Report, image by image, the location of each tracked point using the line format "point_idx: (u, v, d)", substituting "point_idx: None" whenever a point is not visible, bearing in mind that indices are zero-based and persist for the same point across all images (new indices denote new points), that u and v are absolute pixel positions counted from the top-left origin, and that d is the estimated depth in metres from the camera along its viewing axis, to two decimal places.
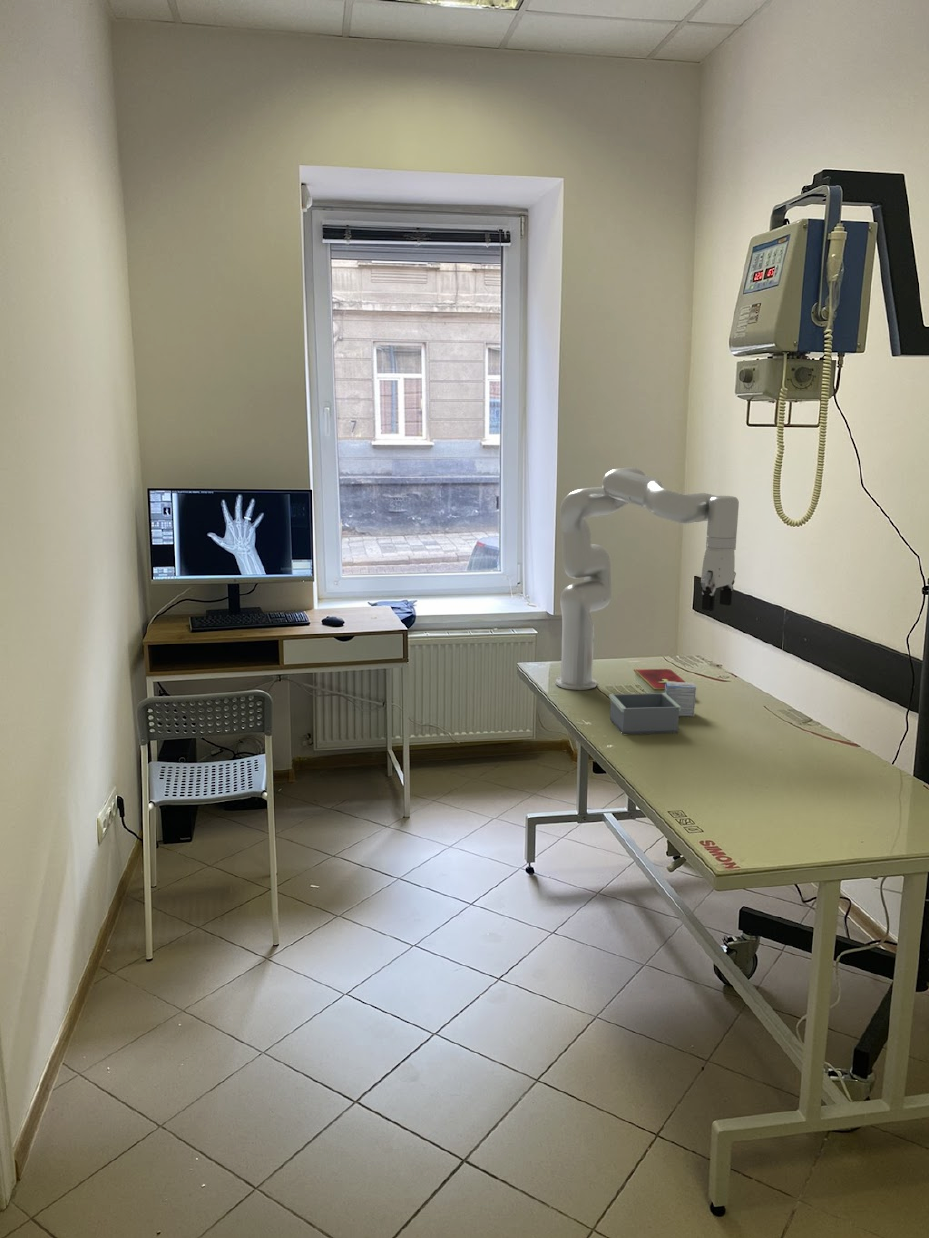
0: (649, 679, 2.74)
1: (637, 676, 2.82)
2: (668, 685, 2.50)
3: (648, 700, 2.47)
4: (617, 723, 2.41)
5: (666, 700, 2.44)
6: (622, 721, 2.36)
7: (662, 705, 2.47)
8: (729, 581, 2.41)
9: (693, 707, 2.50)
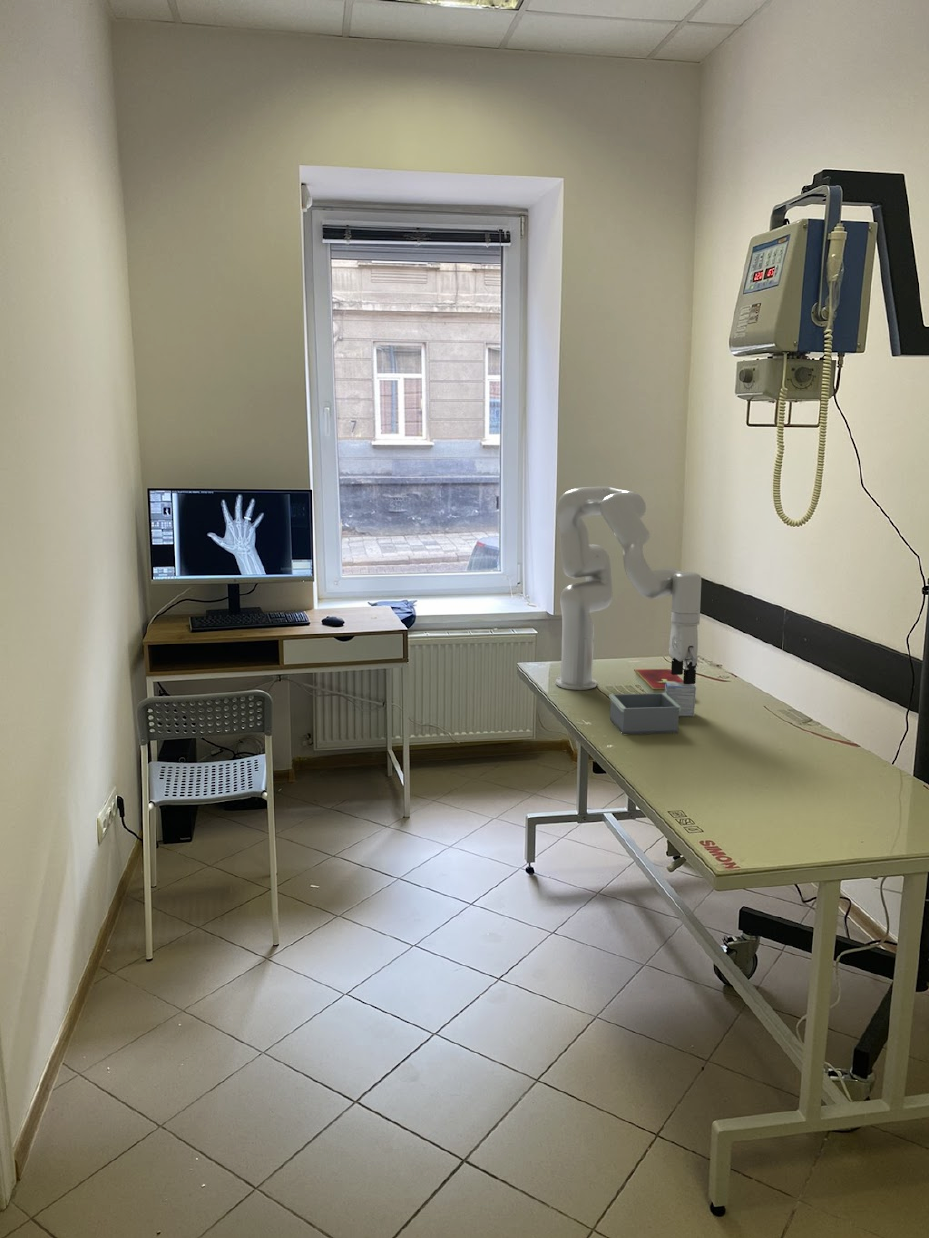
0: (648, 678, 2.74)
1: (637, 676, 2.82)
2: (668, 685, 2.50)
3: (648, 700, 2.47)
4: (617, 723, 2.41)
5: (666, 700, 2.44)
6: (622, 721, 2.36)
7: (662, 705, 2.47)
8: None
9: (693, 707, 2.50)
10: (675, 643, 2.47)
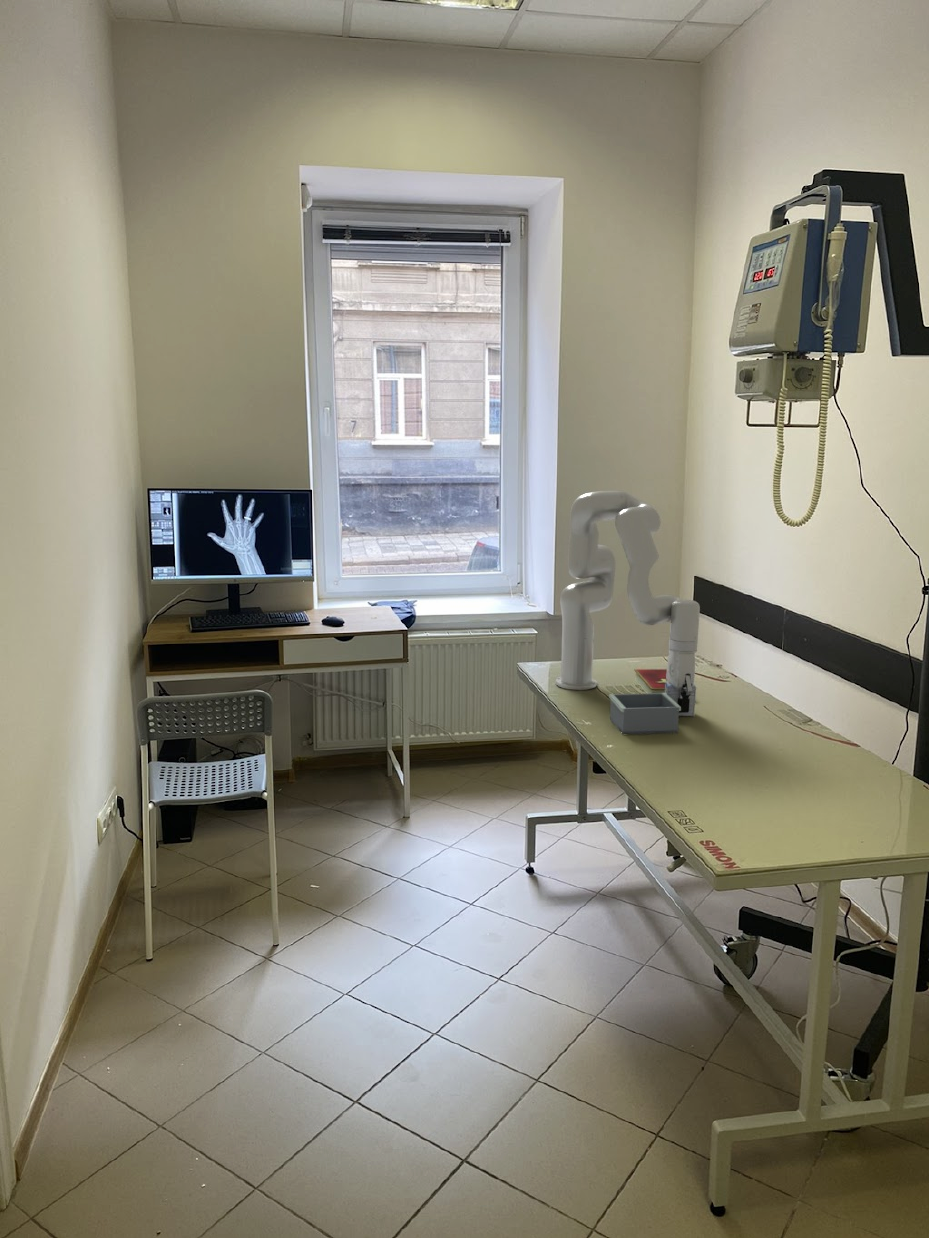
0: (648, 678, 2.74)
1: (637, 676, 2.82)
2: (668, 685, 2.50)
3: (648, 700, 2.47)
4: (617, 723, 2.41)
5: (666, 700, 2.44)
6: (622, 721, 2.36)
7: (662, 705, 2.47)
8: None
9: (693, 707, 2.50)
10: (672, 670, 2.49)
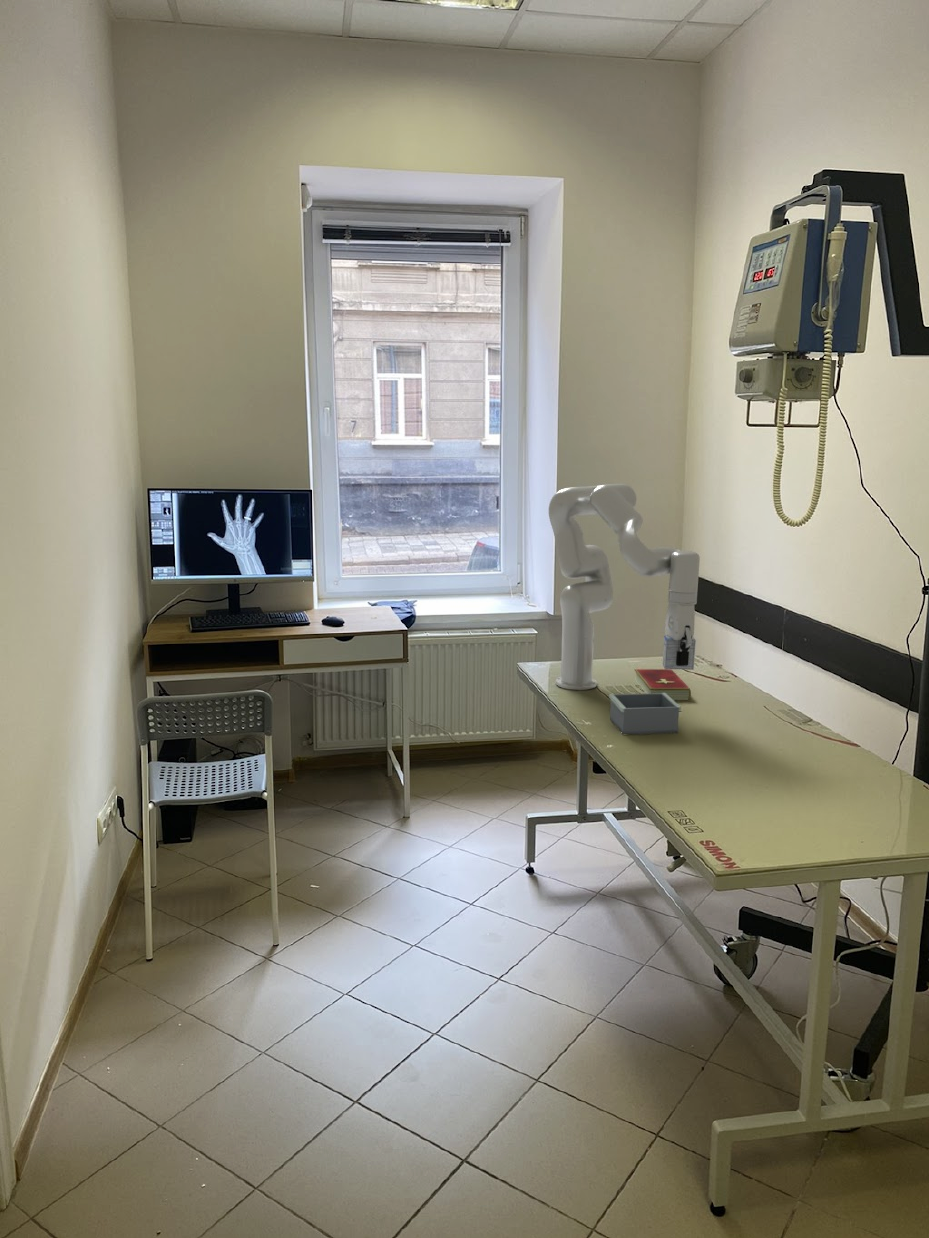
0: (648, 678, 2.75)
1: (638, 676, 2.82)
2: (667, 638, 2.46)
3: (648, 700, 2.47)
4: (617, 723, 2.41)
5: (666, 700, 2.44)
6: (622, 721, 2.36)
7: (662, 705, 2.47)
8: None
9: (693, 660, 2.46)
10: (671, 622, 2.45)
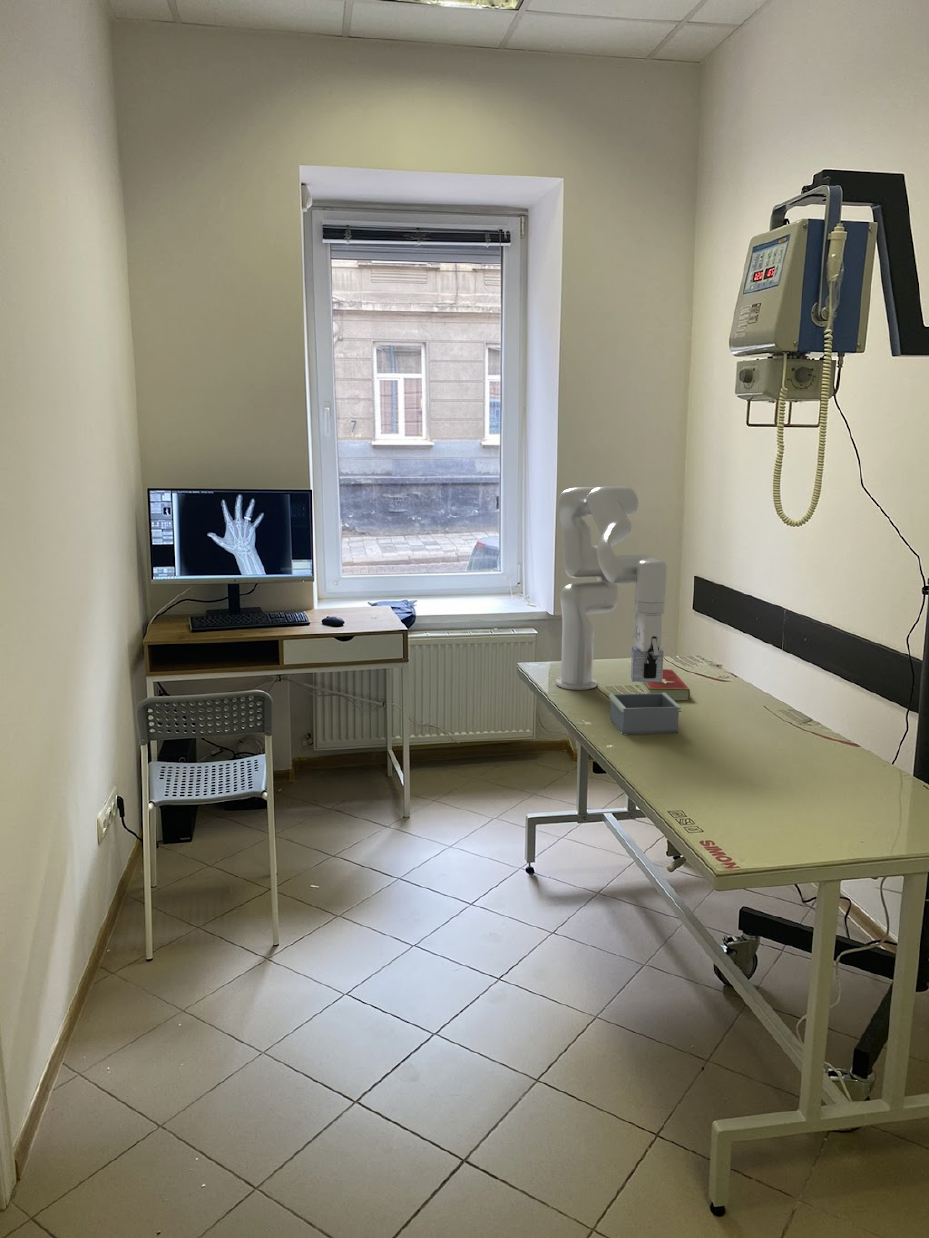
0: None
1: None
2: (634, 649, 2.37)
3: (648, 700, 2.47)
4: (617, 723, 2.41)
5: (666, 700, 2.44)
6: (622, 721, 2.36)
7: (662, 705, 2.47)
8: None
9: (661, 672, 2.37)
10: (638, 633, 2.36)
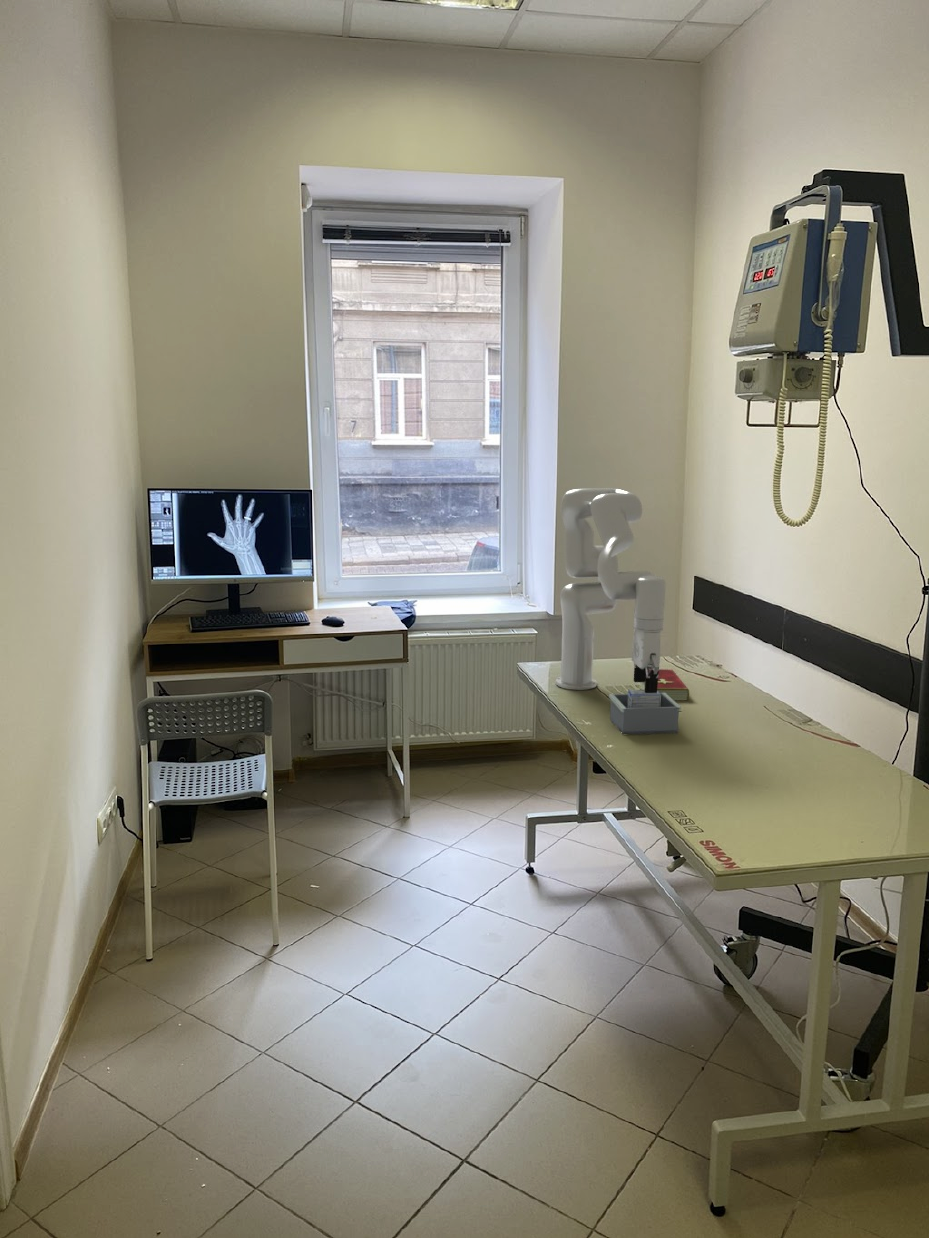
0: None
1: None
2: (632, 693, 2.40)
3: None
4: (617, 723, 2.41)
5: (666, 700, 2.44)
6: (622, 721, 2.36)
7: (662, 705, 2.47)
8: None
9: None
10: (637, 650, 2.37)
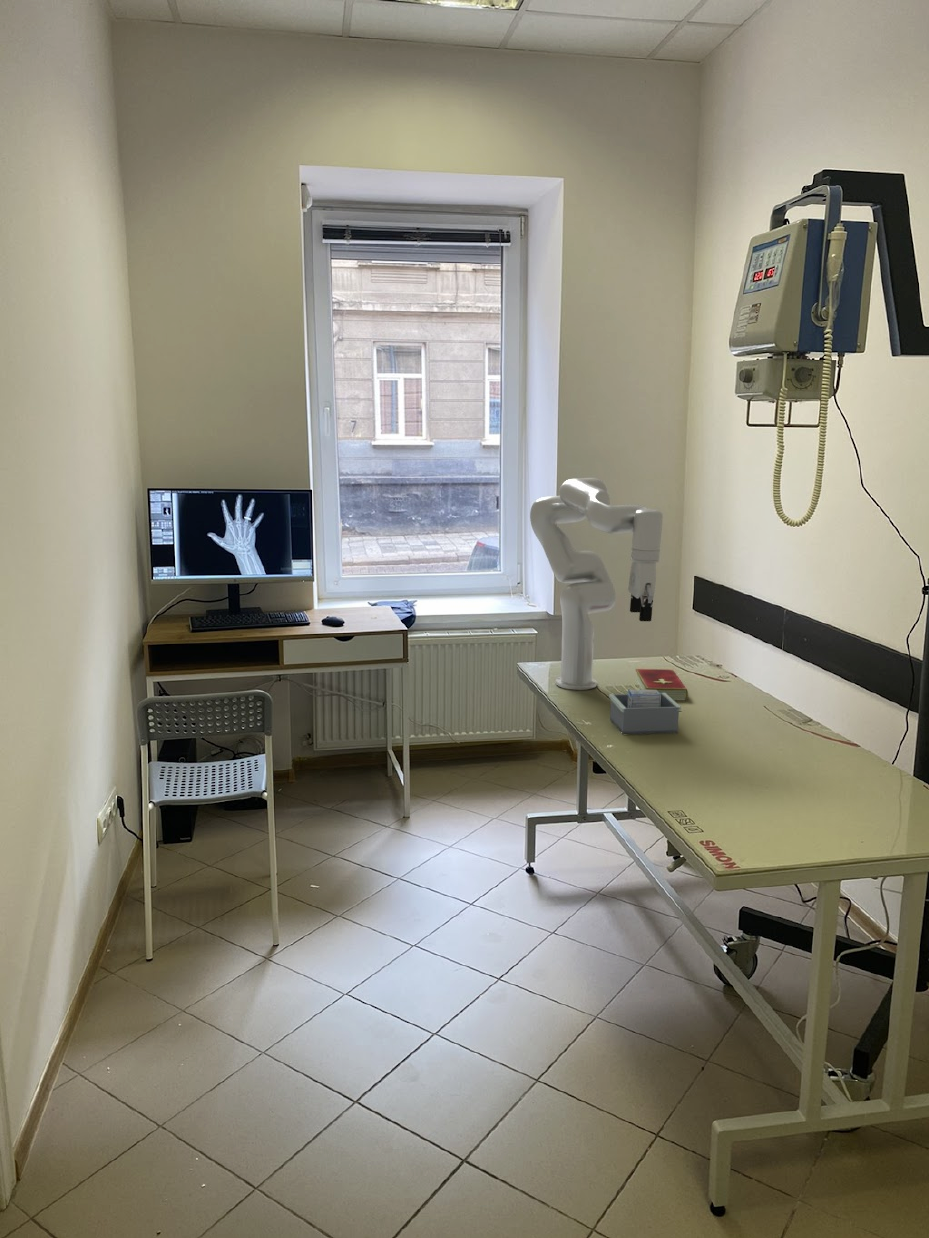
0: (646, 678, 2.75)
1: (638, 675, 2.82)
2: (632, 693, 2.40)
3: None
4: (617, 723, 2.41)
5: (666, 700, 2.44)
6: (622, 721, 2.36)
7: (662, 705, 2.47)
8: None
9: None
10: (633, 580, 2.47)
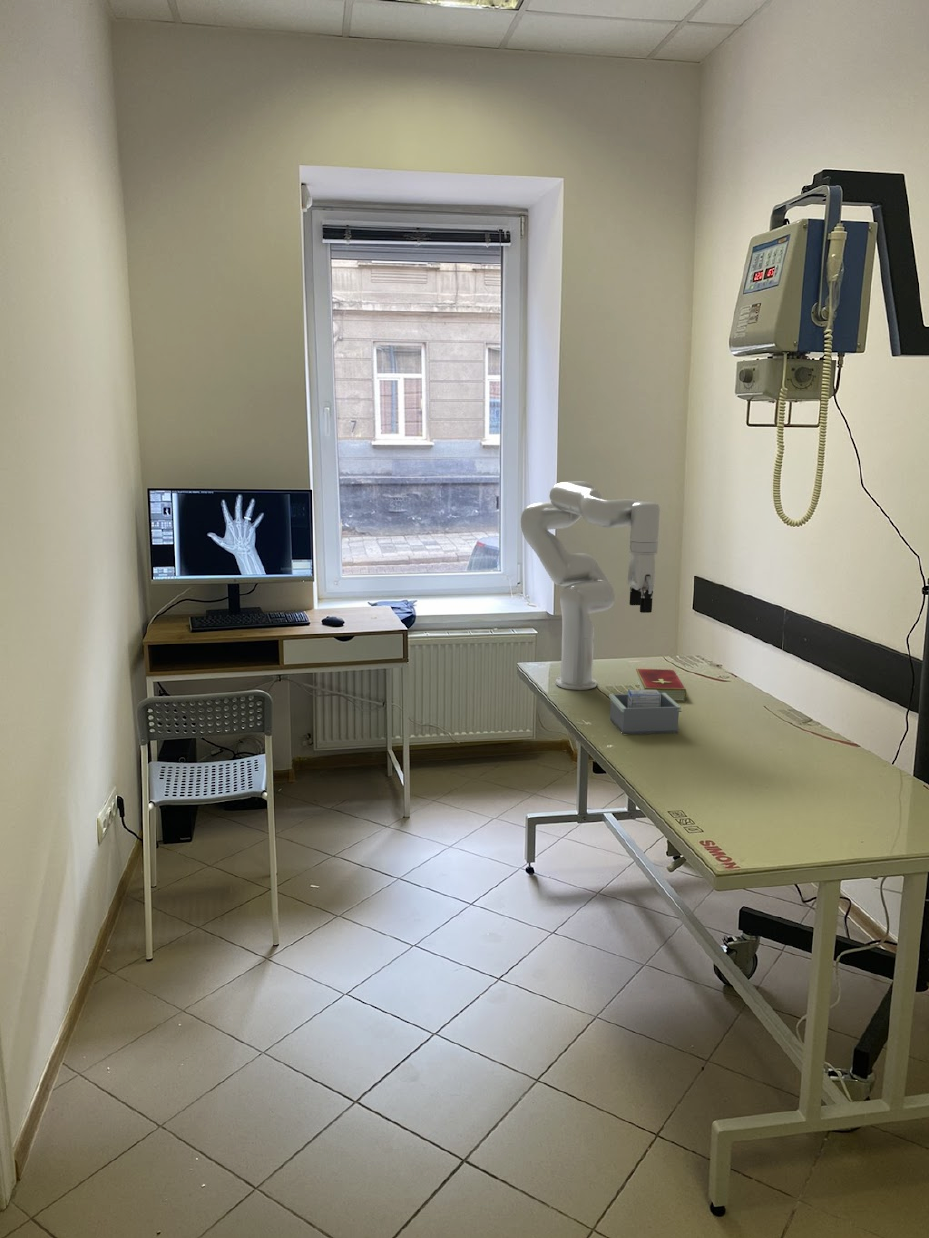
0: (646, 678, 2.75)
1: (638, 675, 2.83)
2: (632, 693, 2.40)
3: None
4: (617, 723, 2.41)
5: (666, 700, 2.44)
6: (622, 721, 2.36)
7: (662, 705, 2.47)
8: None
9: None
10: (633, 572, 2.50)
